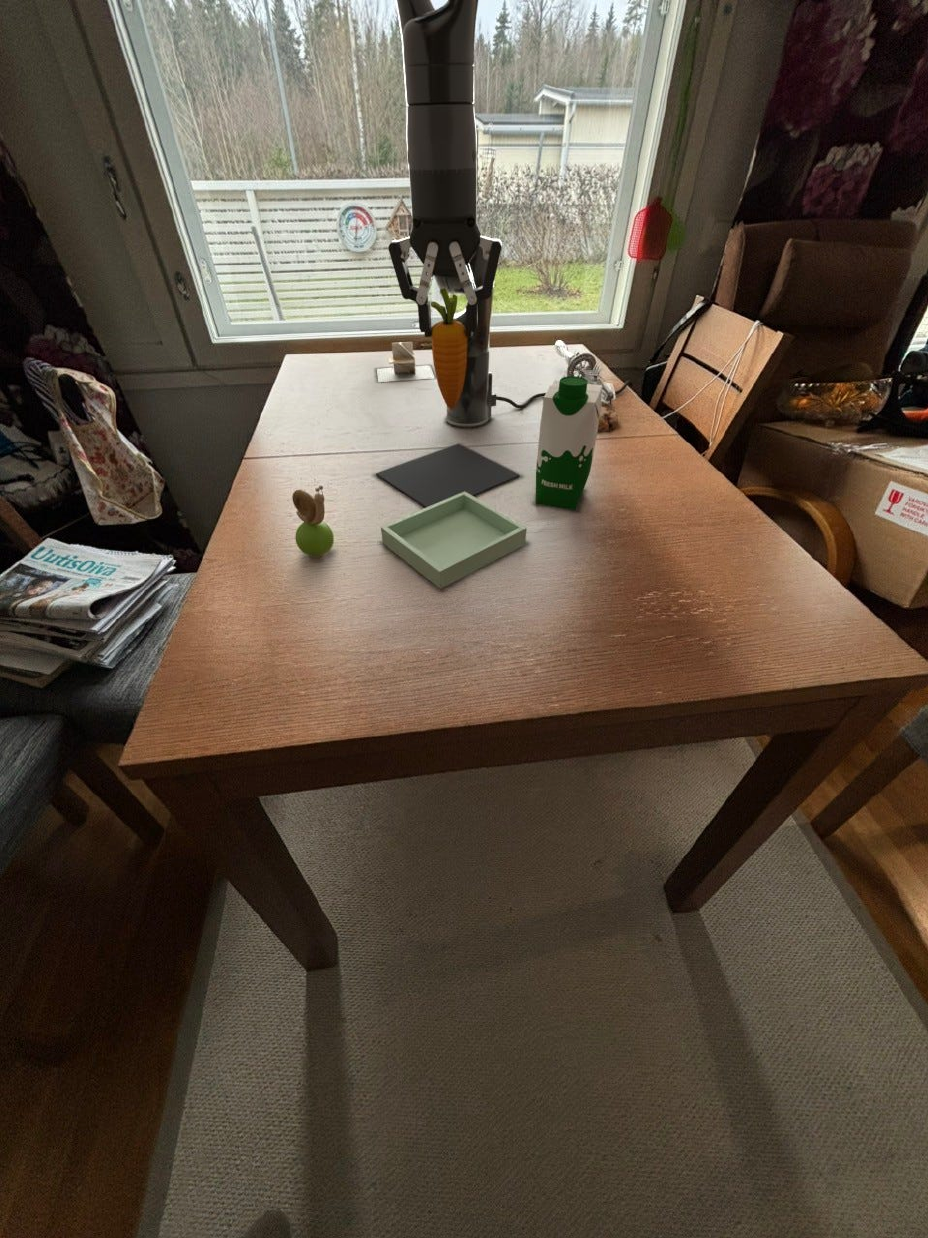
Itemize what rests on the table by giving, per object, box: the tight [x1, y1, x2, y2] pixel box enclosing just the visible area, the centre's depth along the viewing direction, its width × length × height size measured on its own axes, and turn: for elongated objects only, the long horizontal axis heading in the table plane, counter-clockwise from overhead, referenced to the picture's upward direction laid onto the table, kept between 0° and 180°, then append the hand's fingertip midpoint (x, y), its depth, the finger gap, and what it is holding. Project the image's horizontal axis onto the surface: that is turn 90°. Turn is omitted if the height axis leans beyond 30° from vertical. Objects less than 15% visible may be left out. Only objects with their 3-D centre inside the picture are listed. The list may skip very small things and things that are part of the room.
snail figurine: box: [291, 485, 335, 557], centre depth 72 cm, size 5×6×12 cm
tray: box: [380, 492, 528, 590], centre depth 77 cm, size 17×15×3 cm
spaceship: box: [554, 339, 617, 406], centre depth 126 cm, size 8×35×8 cm
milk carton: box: [535, 375, 602, 511], centre depth 81 cm, size 9×9×20 cm
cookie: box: [598, 405, 619, 432], centre depth 110 cm, size 10×11×3 cm
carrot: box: [430, 288, 467, 410], centre depth 69 cm, size 5×5×15 cm
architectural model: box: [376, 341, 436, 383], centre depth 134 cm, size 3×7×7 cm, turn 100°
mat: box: [375, 443, 520, 508], centre depth 94 cm, size 20×18×1 cm
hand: (448, 334), depth 67 cm, fingers closed on carrot, 5 cm apart
